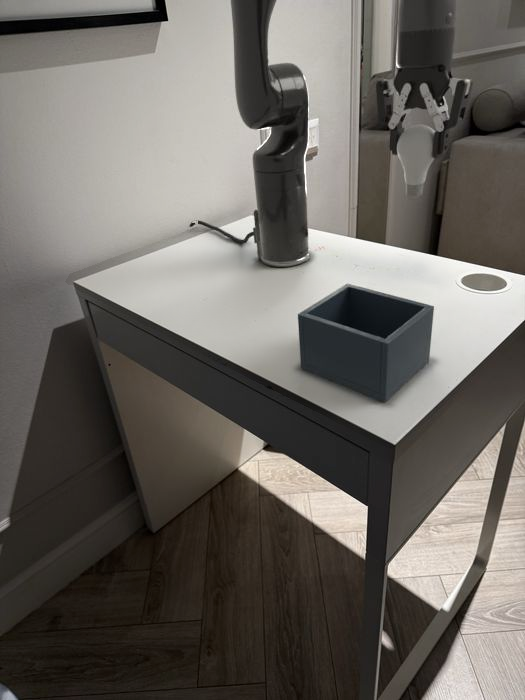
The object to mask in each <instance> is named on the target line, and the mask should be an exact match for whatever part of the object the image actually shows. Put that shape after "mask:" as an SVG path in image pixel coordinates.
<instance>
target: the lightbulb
mask: <svg viewBox="0 0 525 700" xmlns="http://www.w3.org/2000/svg"><path fill="white" fill-rule="evenodd" d="M435 132H436V131H435V129H433V128H432V127H431V126H428V125H426V124H414V125H412V126H410V127H408V128H406V129H404V132H403V133H402V135H401V136H400V138H399V140H398V143H397V154H398V155H397V156H398V159H399V162H400V164H401V166H402V168H403V172H404V182H405V195H406V197H408V198H409V199H411V200H417V199H418V198H419V197H422V195H423V192H424V184H425V183H426V179H427V174H428V171H429V169H430V166H431V164H432V163H433V161H434V160H435V158H433V144H434V133H435Z"/></svg>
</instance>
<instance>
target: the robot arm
mask: <svg viewBox="0 0 525 700" xmlns="http://www.w3.org/2000/svg"><path fill="white" fill-rule="evenodd" d="M458 2H459V0H399V6H398V13H397V14H398V17H397V35H396V36H397V37H396V56H395V57H396V58H395V64H396V73H395V76H394V78H392V79H390V78H386V79H381V80H378V81H377V82H376V84H375V92H376V105H377V120H378V124H380V125H384V126H387V127H388V128H389V146H388V147H389V150H390V152H391V155H393V156H398V154H397V143H398V140H399V138H400V136H401V135H402V133H403V132H404V131H405V127H403V125H404V123H405V120H406V119H407V117H408V115H409V114H410V113H411V112H412V110H413V109H417V108H418V109H420V110H427V112H428V115H429V117H430V118H432V121H433V125H434V127H435V130H436V131H435V133H434V144H433V158H434V159H437V160H438V159H440V158H442V157H444V154H446V153H447V152H448V148H449V138H450V130H451V129H452V128H456V127H458V126H460V125H462V124H464V122H465V118H466V114H467V109H468V105H469V101H470V98H471V97H470V96H471V93H472V87H473V84H474V81H473V78H471V77H466V78H457V77H453V73H452V63H453V57H454V46H455V36H456V28H457V27H456V25H457V17H458V5H459V3H458ZM276 3H277V0H230V7H231V19H232V31H233V32H232V33H233V34H232V37H233V66H234V67H233V68H234V70H233V71H234V72H233V73H234V90H235V91H234V92H235V100H236V107H237V110H238V113H239V116H240V118H241V120H242V122H243V124H245V126H246V127H247V128H249V130H253V131H259V130H266V129H270V131H269V135H268V137H267V138H266V140H265V141H264V142H263V143H262V144H261V145H260V146H259V147H258V148H256V149H255V150H254V152H253V153H252V168H253V169H252V170H253V179H254V180H253V182H254V189H255V200H256V209H254V210H253V220H254V221H253V222H254V226H253V227H252V232H248V233H247V234H246V235H245V237H244V238H243V239H242V238H241V239H240V238H237V237H236V236H234V235H232V234H230V233H229V232H226V231H225V230H223V229H222V228H220V227H218V226H214V225H212V224H211V223H208V222H205V221H202V220H198V224H197V225H202V226H204V227H206V228H208V229H210V230H213V231H216V232H218V233H220V234H222V235H223V236H225V237H227V238H228V239H230V240H232V241H234V242H236V243H238V244H246V243H248V241H249V239H250V238H251V237H253V242H254V244H255V245H256V250H257V258H258V259H259V260H261V262H262V263H263V264H265V265H267V266H271V267H278V268H280V267H281V268H283V267H294V266H298V265H301V264H303V263H305V262H306V261H308V260H309V258H310V255H311V254H310V245H309V222H308V220H309V219H308V201H307V199H308V198H307V179H306V178H307V177H306V176H307V175H306V155H307V151H308V147H309V112H310V111H309V108H310V107H309V106H310V105H309V104H310V102H309V100H310V99H309V89H308V84H307V80H306V78H305V75H304V73H303V71H302V69H301V68H300V67H298V65H297V64H294V63H291V62H281V63H274V64H270V63H269V29H270V23H271V18H272V15H273V11H274V9H275V7H276ZM450 89H451V95H452V97H453V99H452V104H451V108H450V113H449V105H448V103H447V100H446V97H445V96H446V93H447V92H448V91H449V90H450ZM395 90H396V93H397V94H398V96H399V97H398V99H397V101H396V103H395V104H394V102H393V94H394V92H395ZM394 105H395V106H394ZM195 225H196V224H195V223H192V222H190V224H189V225H188V226H189V228H193V227H194V226H195Z"/></svg>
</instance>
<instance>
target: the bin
mask: <svg viewBox="0 0 525 700" xmlns="http://www.w3.org/2000/svg"><path fill="white" fill-rule="evenodd" d="M434 311H435V306H434V305H430V304H427V303H424V302H420V301H416V300H413V299H408V298H404V297H401V296H396V295H393V294H390V293H386V292H382V291H378V290H374V289H370V288H367V287H362V286H358V285H355V284H352V283H346V284H343V285H342V286H341V287H339V288H337V289H336V290H334V291H332V292H331V293H329V294H328V295H326V296H325V297H323V298H321V299H320V300H318V301H316V302H315V303H313V304H311V305H310V306H309V307H307V308H305V309H303V310H302V311H300V312H299V313H297V325H298V327H297V328H298V340H299V341H298V342H299V343H298V345H299V359H300V369H302V370H304V371H307V372H309V373H312V374H315V375H317V376H319V377H322V378H324V379H327V380H329V381H331V382H334V383H336V384H339V385H341V386H343V387H347V388H349V389H351V390H353V391H356V392H359V393H361V394H363V395H365V396H367V397H371V398H373V399H375V400H377V401H381V402H383V403H386V402H388V401H389V400H390V399H391V398H392V397H393V396H395V394H396V393H398V392H399V390H400V389H402V388H403V387H404V386H405V385H406V384H407V383H408V382H409V381H411V379H412V378H413V377H415V376H416V375H417V374H418V373H419V372H420V371H421V370H422V369H423V368H424V367H425V366H426V365H427V364H428V363H429V362H430V358H431V357H430V356H431V355H430V353H431V344H432V334H433V322H434V313H435V312H434Z"/></svg>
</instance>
